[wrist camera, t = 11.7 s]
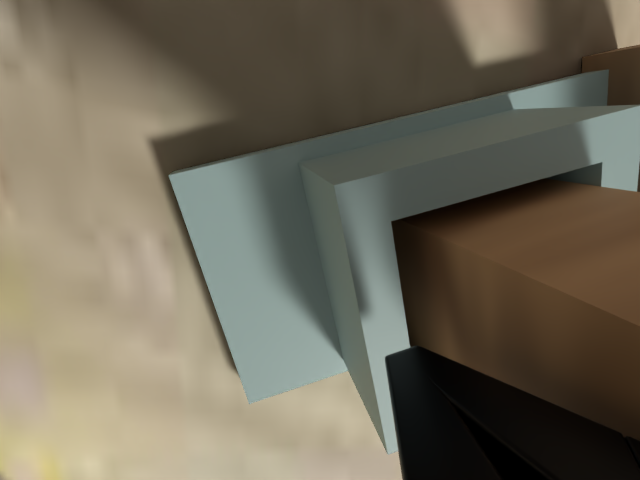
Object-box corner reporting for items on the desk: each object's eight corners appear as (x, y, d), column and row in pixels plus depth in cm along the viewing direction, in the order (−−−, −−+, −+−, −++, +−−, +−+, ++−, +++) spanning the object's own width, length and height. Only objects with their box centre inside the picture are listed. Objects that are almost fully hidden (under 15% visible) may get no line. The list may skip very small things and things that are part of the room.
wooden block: (360, 201, 11) (674, 342, 4) (473, 168, 12) (902, 230, 5) (380, 315, 13) (641, 579, 5) (480, 278, 13) (823, 457, 6)
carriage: (172, 171, 11) (132, 208, 6) (587, 72, 13) (777, 46, 8) (248, 388, 14) (256, 519, 9) (579, 279, 16) (720, 342, 11)
